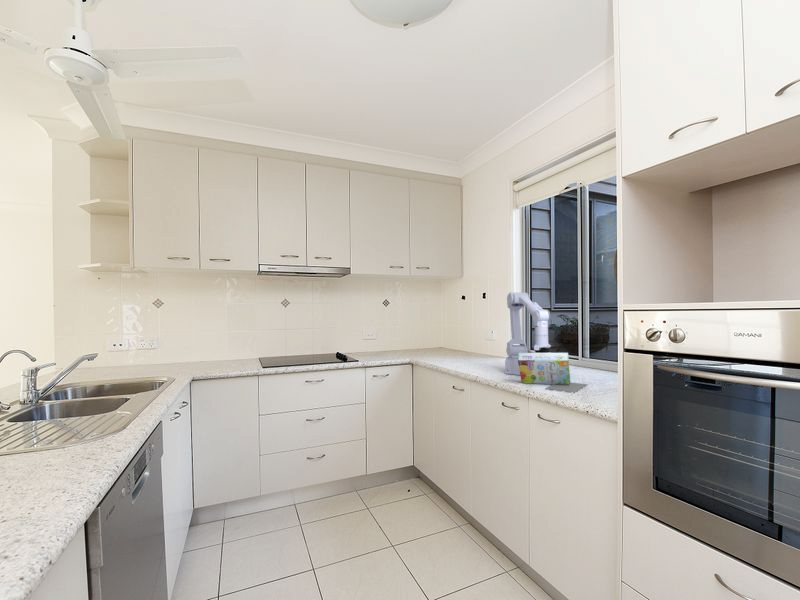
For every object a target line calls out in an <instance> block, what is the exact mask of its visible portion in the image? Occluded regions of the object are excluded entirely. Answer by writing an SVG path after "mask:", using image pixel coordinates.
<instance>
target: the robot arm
mask: <svg viewBox="0 0 800 600" xmlns="http://www.w3.org/2000/svg"><path fill="white" fill-rule="evenodd" d="M506 305H507V308H508V309H509V315H510V332H511V333H510V334H511V339H510V340H509V341H508V342H507V343H506V355H507V356H506V358H505V360H504V362H505V363H504V368H505V369H504V371H505V372H504V374H506V375H507V374H508V375H514V376H515V375H516V376H520V370H519V364H518V353H529V351H528V347H527V342H526V341H525V340H523V339H522V327H521V313H520V310H521V309H523V308H524V307H526V310H527V312H528V313H529V314H530V315H531V317H532V320H533V326H534V331H535V332H534V333H535V334H534V336H535V341H534V343H535V344H534V345H533V350H534V353H550V348H551V347H552V345H551V344H550V343H549V322H550V321H551V312H550V310H549V309H543V308H542V307H541V306H540V305H539V304H538V302H535V301H532V300H531V299H530V295H529V294H528V293H527V292H525V291H524V292H511V291H510V292H508V294H507V297H506Z"/></svg>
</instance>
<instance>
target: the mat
mask: <svg viewBox="0 0 800 600" xmlns="http://www.w3.org/2000/svg"><path fill="white" fill-rule="evenodd" d="M586 385H587V386H588V383H587V384H585V383H579V382H571V381H570V385H567V384H550V385H549V386H548V387H545V390H547V389H550V390H549V391H554V390H557V391H556V392H562V391H565V392H564V393H570V392H573V393H572V394H575V392H576V393H577V392H579V391H581V390H582V389H584V388H586V387H587V386H586ZM583 387H584V388H583ZM580 389H581V390H580Z"/></svg>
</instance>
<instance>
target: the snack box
mask: <svg viewBox="0 0 800 600" xmlns="http://www.w3.org/2000/svg"><path fill="white" fill-rule="evenodd" d="M518 364H519V370H520V375H519V376H520V379H521V383H522V384H545V385H553V384H567V385H570V382H571V370H570V357H569V352H548V353H536V352H527V353H518Z"/></svg>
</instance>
